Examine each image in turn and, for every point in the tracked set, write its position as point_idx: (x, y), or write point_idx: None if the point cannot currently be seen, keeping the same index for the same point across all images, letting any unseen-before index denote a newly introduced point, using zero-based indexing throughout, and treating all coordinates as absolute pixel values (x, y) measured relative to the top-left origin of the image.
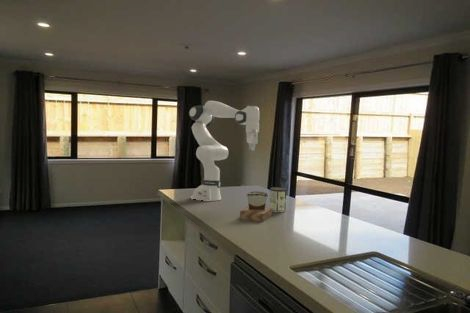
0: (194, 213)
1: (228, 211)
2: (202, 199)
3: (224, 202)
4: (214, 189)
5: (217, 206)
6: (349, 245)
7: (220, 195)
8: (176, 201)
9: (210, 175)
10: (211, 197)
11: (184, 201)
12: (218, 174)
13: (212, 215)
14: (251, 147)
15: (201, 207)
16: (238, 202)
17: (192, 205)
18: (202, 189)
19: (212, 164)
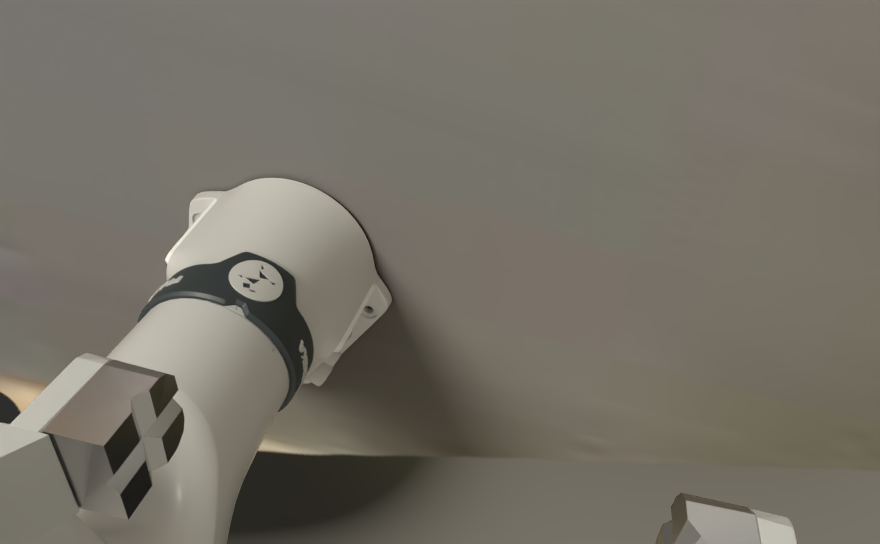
0: (748, 463)
1: (786, 264)
2: (362, 333)
3: (432, 192)
4: (323, 307)
5: (577, 286)
6: None
7: (288, 205)
8: (378, 455)
9: (264, 434)
10: (366, 291)
11: (380, 421)
12: (225, 370)
13: (860, 396)
14: (112, 459)
15: (584, 386)
16: (443, 66)
17: (509, 414)
18: (305, 377)
19: (219, 536)
